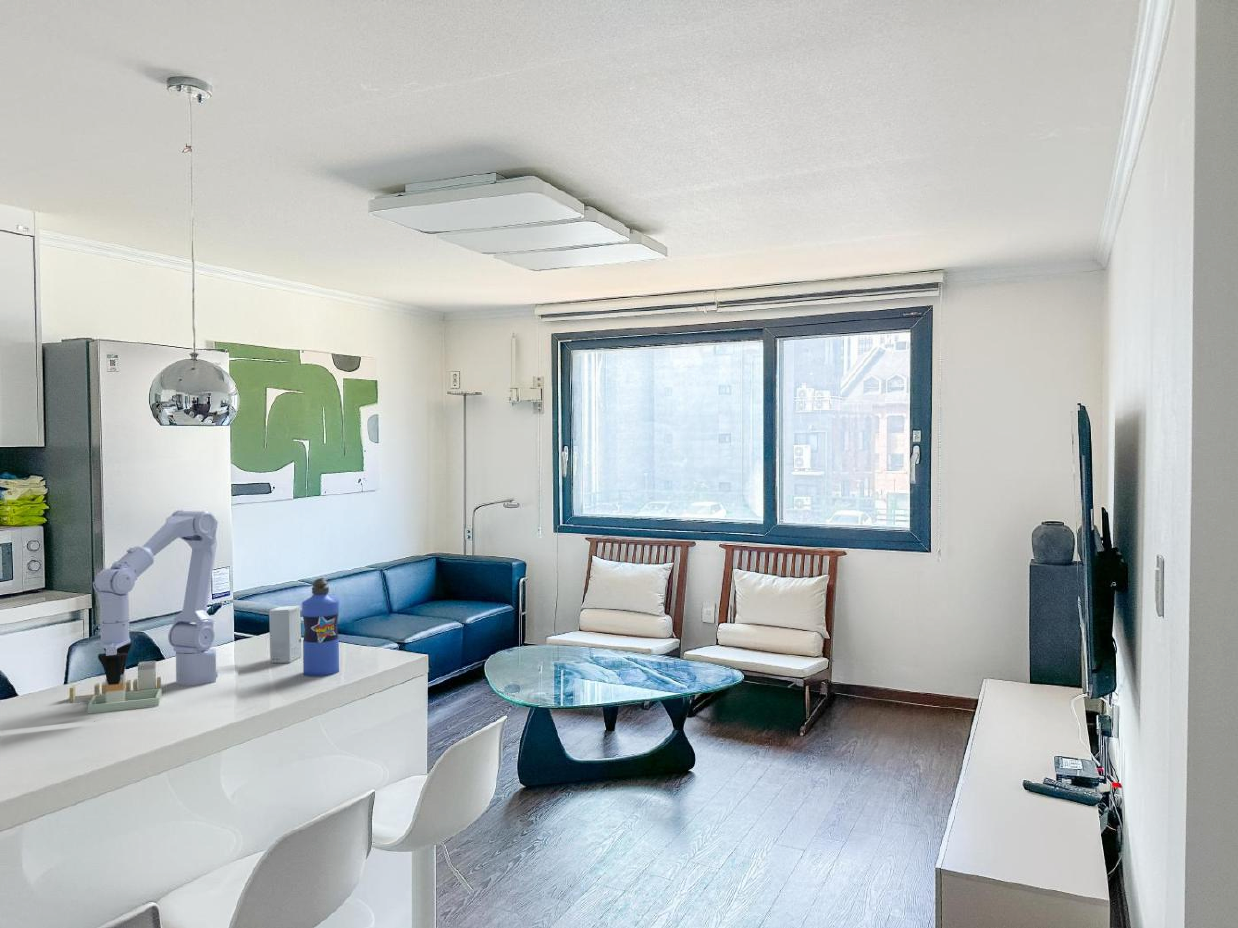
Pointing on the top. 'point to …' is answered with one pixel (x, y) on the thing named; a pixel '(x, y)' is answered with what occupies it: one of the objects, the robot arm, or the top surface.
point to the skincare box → (285, 634)
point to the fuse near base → (147, 675)
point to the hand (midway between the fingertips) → (116, 679)
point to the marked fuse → (115, 691)
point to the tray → (126, 704)
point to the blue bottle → (320, 632)
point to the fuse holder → (97, 691)
